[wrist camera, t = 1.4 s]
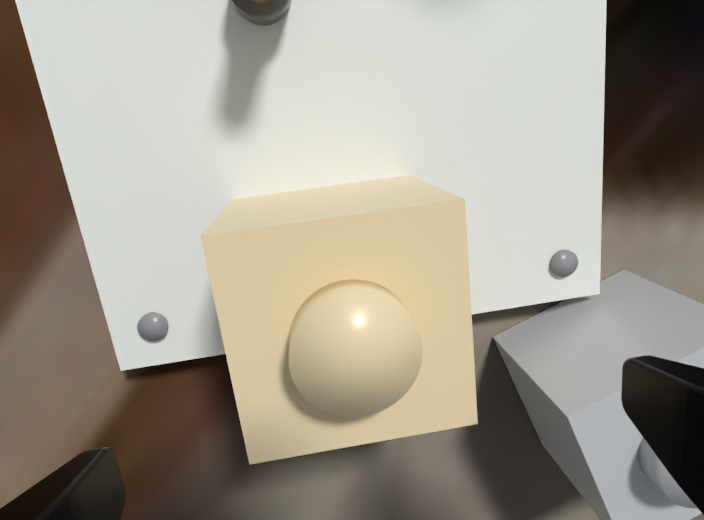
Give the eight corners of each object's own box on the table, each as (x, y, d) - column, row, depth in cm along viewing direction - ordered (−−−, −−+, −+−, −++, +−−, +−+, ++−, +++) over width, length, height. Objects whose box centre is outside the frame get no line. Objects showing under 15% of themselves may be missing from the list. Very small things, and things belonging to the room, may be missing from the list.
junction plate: (581, 284, 20) (683, 340, 15) (131, 355, 18) (67, 445, 13) (587, -154, 16) (732, -294, 10) (5, -103, 14) (-161, -234, 9)
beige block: (422, 334, 18) (492, 448, 12) (263, 360, 18) (245, 493, 11) (409, 174, 17) (481, 205, 10) (232, 198, 16) (190, 247, 10)
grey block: (662, 383, 22) (819, 492, 15) (541, 444, 22) (645, 578, 15) (623, 269, 20) (781, 338, 13) (492, 336, 20) (586, 437, 14)
